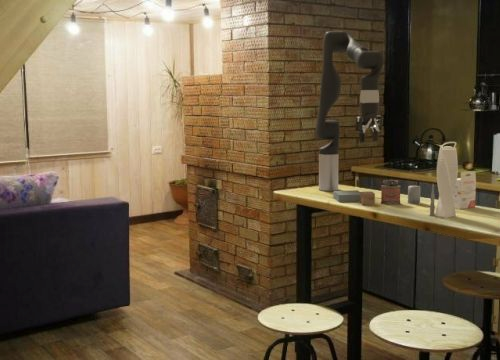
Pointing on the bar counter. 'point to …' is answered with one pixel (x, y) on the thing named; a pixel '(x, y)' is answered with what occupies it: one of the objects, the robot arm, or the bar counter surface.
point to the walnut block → (367, 198)
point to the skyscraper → (445, 182)
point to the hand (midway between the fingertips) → (368, 141)
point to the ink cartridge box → (465, 190)
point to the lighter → (390, 192)
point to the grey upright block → (414, 194)
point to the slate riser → (347, 196)
